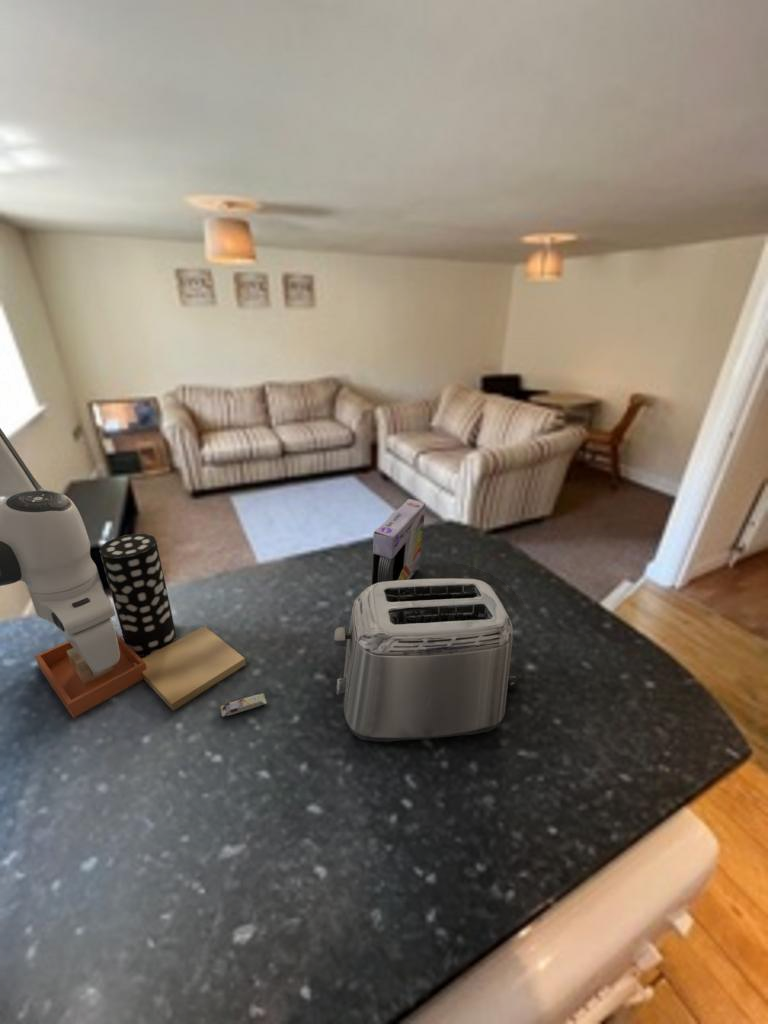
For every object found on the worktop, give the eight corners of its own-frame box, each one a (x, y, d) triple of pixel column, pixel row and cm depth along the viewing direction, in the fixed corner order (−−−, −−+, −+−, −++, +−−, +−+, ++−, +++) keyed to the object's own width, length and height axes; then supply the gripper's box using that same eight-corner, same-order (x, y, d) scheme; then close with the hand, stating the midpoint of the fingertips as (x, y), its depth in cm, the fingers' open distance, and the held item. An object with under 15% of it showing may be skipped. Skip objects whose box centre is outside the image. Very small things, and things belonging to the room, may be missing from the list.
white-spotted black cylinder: (180, 644, 82) (160, 549, 73) (129, 662, 77) (102, 563, 69) (171, 620, 88) (151, 529, 79) (123, 635, 84) (97, 541, 75)
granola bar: (264, 695, 72) (264, 690, 71) (267, 706, 70) (266, 701, 69) (220, 708, 69) (219, 703, 69) (221, 719, 67) (221, 714, 67)
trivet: (134, 669, 76) (133, 663, 75) (205, 631, 85) (204, 625, 84) (173, 711, 68) (171, 704, 68) (245, 664, 78) (245, 658, 77)
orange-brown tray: (39, 668, 75) (34, 655, 74) (110, 635, 83) (107, 623, 82) (73, 718, 67) (68, 704, 66) (148, 675, 75) (145, 663, 74)
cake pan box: (388, 612, 92) (391, 536, 84) (366, 605, 94) (368, 530, 86) (421, 568, 108) (426, 501, 100) (402, 563, 110) (406, 497, 102)
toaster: (336, 666, 78) (334, 573, 70) (501, 659, 80) (517, 569, 73) (335, 754, 63) (332, 648, 55) (538, 741, 65) (564, 638, 57)
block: (73, 671, 75) (66, 650, 73) (102, 657, 78) (96, 637, 76) (83, 685, 72) (76, 664, 70) (113, 670, 75) (107, 649, 73)
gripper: (22, 576, 72) (47, 643, 78) (69, 632, 60) (94, 706, 66) (67, 561, 77) (87, 626, 82) (118, 611, 65) (137, 682, 71)
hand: (90, 662), depth 74 cm, fingers open, 5 cm apart
